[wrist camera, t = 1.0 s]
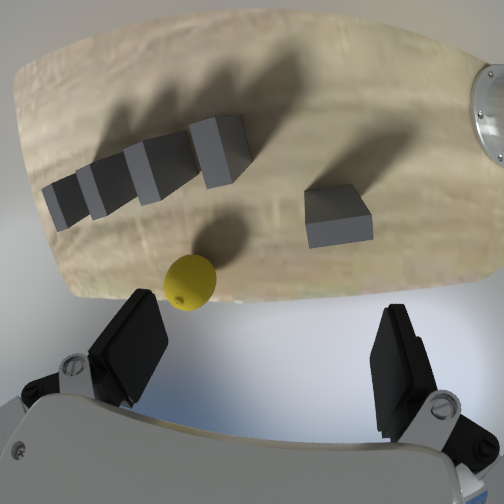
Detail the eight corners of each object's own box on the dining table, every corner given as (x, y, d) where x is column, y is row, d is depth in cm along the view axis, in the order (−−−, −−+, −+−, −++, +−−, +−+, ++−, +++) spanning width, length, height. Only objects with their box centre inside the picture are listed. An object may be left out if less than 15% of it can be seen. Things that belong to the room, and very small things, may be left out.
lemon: (185, 236, 33) (155, 271, 26) (229, 253, 33) (209, 293, 26) (177, 273, 36) (150, 312, 29) (217, 288, 36) (198, 331, 29)
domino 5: (304, 191, 29) (305, 224, 21) (351, 184, 27) (371, 214, 20) (307, 209, 29) (309, 248, 22) (354, 202, 28) (373, 239, 20)
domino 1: (101, 162, 30) (51, 183, 23) (113, 199, 33) (68, 228, 25) (90, 167, 31) (41, 189, 23) (103, 203, 33) (57, 232, 25)
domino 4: (240, 115, 26) (214, 116, 18) (252, 162, 28) (232, 183, 20) (221, 120, 26) (188, 124, 19) (233, 166, 29) (207, 189, 21)
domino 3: (185, 130, 27) (142, 141, 20) (198, 174, 30) (161, 200, 22) (169, 136, 28) (122, 149, 20) (181, 178, 30) (141, 206, 22)
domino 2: (139, 147, 29) (89, 164, 21) (151, 187, 31) (107, 215, 23) (125, 152, 29) (75, 171, 22) (138, 191, 32) (92, 220, 24)
